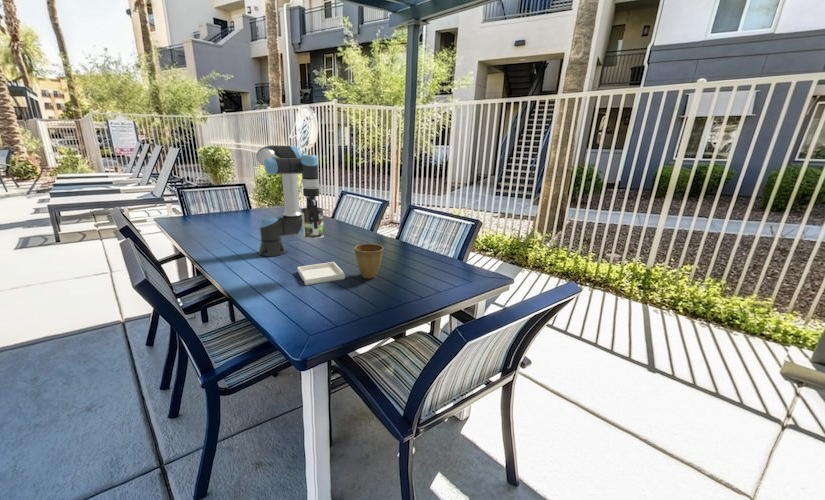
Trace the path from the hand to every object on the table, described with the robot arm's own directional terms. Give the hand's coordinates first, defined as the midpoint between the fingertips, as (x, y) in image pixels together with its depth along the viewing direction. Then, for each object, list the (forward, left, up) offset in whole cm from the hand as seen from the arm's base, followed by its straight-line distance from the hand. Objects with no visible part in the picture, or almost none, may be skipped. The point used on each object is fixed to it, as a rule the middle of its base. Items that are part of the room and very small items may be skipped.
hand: (313, 232), depth 172 cm
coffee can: (0, 0, -3) cm, 3 cm away
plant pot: (+11, +26, -24) cm, 37 cm away
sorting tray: (0, +3, -24) cm, 24 cm away
